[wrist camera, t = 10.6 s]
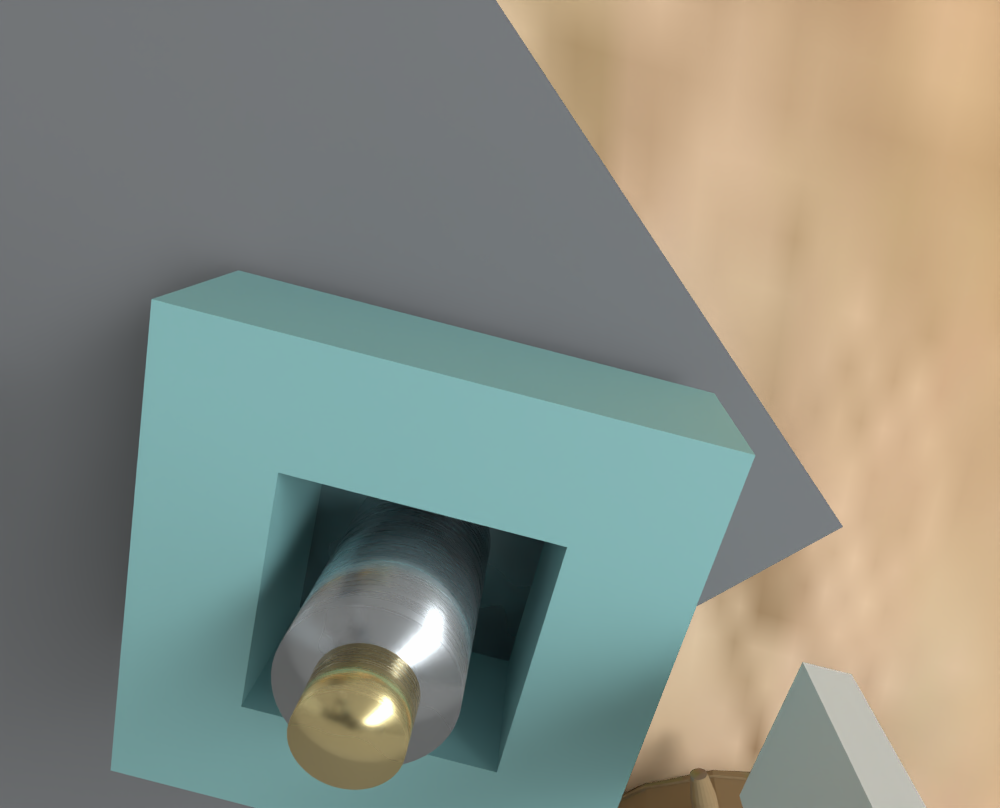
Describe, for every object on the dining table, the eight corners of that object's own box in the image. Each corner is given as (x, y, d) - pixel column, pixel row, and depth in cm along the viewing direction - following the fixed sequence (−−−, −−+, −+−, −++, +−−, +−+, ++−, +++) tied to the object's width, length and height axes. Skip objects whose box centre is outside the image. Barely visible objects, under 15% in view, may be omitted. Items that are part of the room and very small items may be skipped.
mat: (-533, 433, 18) (-581, 445, 17) (209, -431, 12) (185, -471, 11) (47, 941, 22) (29, 969, 21) (829, 509, 16) (843, 527, 15)
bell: (174, 471, 16) (-69, 664, 10) (466, 253, 14) (391, 324, 8) (401, 724, 18) (315, 1027, 11) (690, 562, 16) (774, 821, 9)
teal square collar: (189, 664, 16) (110, 770, 13) (238, 270, 13) (151, 298, 11) (580, 765, 16) (584, 892, 13) (713, 393, 13) (754, 455, 11)
